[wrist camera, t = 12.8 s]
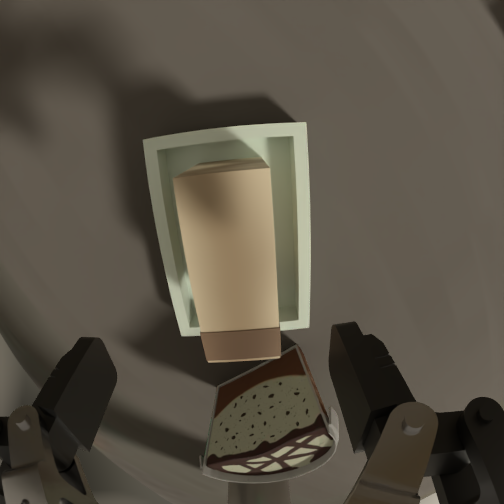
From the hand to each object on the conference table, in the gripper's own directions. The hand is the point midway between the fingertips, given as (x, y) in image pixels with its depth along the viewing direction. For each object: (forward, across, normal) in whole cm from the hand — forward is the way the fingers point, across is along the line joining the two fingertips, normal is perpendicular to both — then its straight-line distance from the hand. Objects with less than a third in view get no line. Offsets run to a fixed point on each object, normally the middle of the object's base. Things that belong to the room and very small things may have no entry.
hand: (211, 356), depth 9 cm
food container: (+13, -2, +16) cm, 20 cm away
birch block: (+12, -1, 0) cm, 12 cm away
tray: (+12, 0, 0) cm, 12 cm away
